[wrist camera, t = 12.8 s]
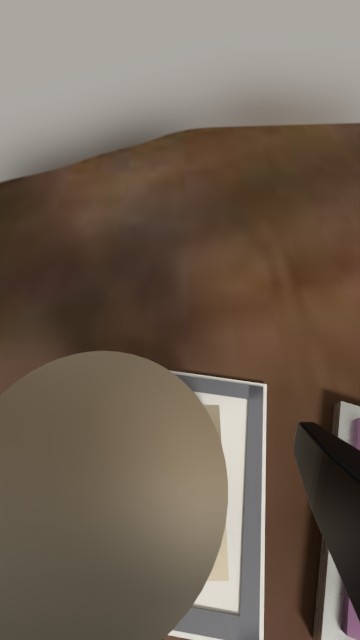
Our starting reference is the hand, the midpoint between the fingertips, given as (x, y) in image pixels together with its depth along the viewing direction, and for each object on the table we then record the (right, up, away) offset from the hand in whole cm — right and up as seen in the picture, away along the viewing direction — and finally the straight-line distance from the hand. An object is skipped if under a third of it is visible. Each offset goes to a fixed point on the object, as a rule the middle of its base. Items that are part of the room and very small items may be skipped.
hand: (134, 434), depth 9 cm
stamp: (0, -5, +6) cm, 8 cm away
